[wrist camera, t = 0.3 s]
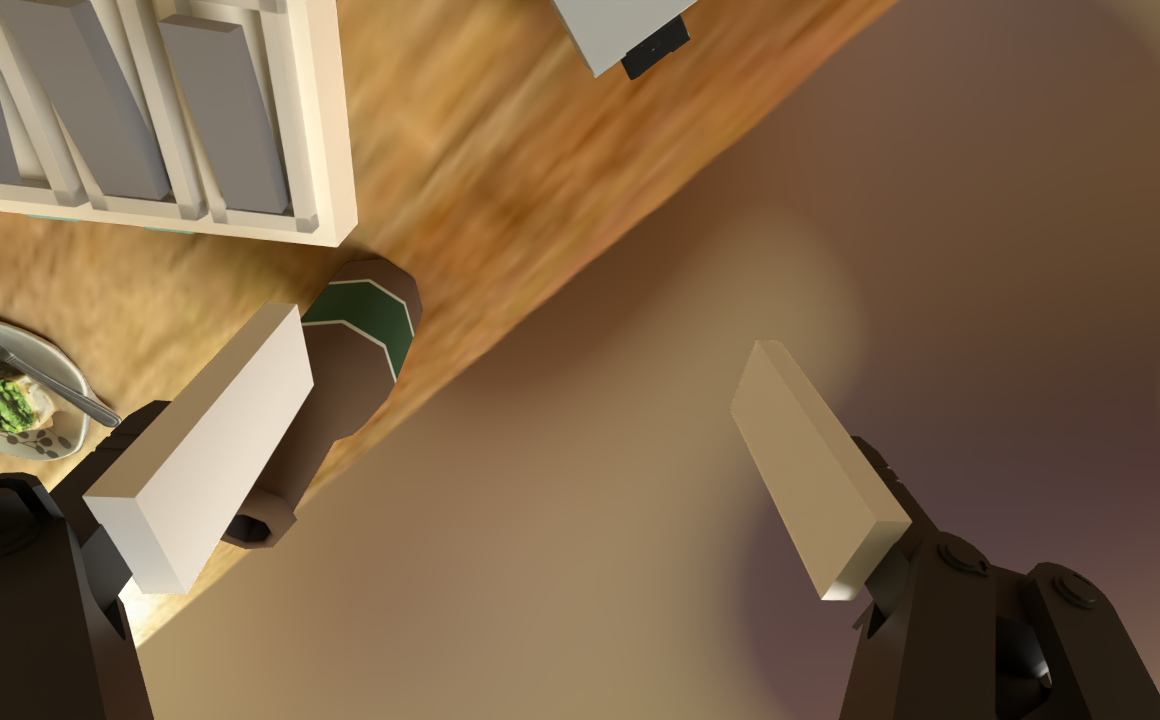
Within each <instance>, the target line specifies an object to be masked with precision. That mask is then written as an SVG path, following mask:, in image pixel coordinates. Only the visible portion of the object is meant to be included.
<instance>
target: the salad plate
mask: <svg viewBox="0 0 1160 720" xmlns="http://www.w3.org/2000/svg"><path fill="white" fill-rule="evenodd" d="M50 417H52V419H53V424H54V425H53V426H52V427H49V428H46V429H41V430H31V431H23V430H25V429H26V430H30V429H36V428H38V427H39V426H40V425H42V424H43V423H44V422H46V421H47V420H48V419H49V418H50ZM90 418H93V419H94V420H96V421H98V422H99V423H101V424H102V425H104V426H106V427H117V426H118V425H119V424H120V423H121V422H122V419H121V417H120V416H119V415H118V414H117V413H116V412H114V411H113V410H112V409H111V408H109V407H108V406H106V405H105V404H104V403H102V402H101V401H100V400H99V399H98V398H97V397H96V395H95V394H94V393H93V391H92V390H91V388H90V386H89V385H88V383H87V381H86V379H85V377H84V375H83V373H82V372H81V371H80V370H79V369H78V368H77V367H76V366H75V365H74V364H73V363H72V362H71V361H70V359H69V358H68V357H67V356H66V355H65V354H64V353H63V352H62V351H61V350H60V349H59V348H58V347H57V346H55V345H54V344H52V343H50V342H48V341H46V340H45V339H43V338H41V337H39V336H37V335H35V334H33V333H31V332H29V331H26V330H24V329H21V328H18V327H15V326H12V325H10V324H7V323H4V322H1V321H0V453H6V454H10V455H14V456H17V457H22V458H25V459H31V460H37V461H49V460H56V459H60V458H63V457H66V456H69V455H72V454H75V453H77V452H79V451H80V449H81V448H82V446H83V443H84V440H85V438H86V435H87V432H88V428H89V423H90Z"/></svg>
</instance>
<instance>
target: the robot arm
mask: <svg viewBox="0 0 1160 720" xmlns="http://www.w3.org/2000/svg"><path fill="white" fill-rule="evenodd" d="M313 386H314V383H313V378H312V373H311V369H310V364H309V359H308V354H307V349H306V345H305V340H304V335H303V330H302V325H301V320H300V316H299V311H298V306H297V304H292V303H280V302H266V303H265V304H264V305H263V306H262V307H261V308H260V309H259V310H258V311H257V312H256V313H255V314H254V315H253V317H252V318H251V319H250V320H249V321H248V322H247V323H246V324H245V325H244V326H243V327H242V328H241V329H240V330H239V331H238V332H237V333H236V334H235V336H234V337H233V338H232V339H231V340H230V341H229V342H228V343H227V344H226V345H225V346H224V347H223V348H222V349H221V350H220V351H219V352H218V353H217V355H216V356H215V357H214V358H213V359H212V360H211V361H210V362H209V363H208V364H207V365H206V366H205V367H204V368H203V369H202V370H201V371H200V372H199V373H198V375H197V376H196V377H195V378H194V379H193V380H192V381H191V382H190V383H189V384H188V385H187V386H186V387H185V388H184V389H183V390H182V391H181V392H180V394H179V395H178V396H177V397H176V398H175V399H174V400H173V401H160V400H154V401H153V402H151V403H149V404H147V405H146V406H144V407H142V408H140V409H139V410H137V411H135V412H133V413H132V414H130V415H128V416H127V417H126V418H125V419H124V420H123V421H122V422H121V423H120V424H119V425H118V426H117V427H116V428H115V429H114V430H113V431H112V432H111V435H110V437H106V438H105V439H104V440H103V441H102V442H101V443H100V444H99V445H98V446H97V447H96V450H95V452H90V453H89V454H88V455H87V456H86V457H85V458H84V459H83V460H82V461H81V462H80V463H79V464H78V465H77V466H76V467H75V468H74V469H73V470H72V471H71V472H70V473H69V474H68V475H67V476H66V477H65V478H64V479H63V480H62V481H61V482H60V483H59V484H58V485H57V486H56V487H55V488H54V489H53V490H52V491H51V492H50V493H48V492H47V490H46V489H45V487H44V486H43V484H42V483H41V482H40V480H39V479H38V478H37V476H34V475H31V474H27V473H24V472H15V473H1V474H0V720H154V717H153V714H152V709H151V706H150V702H149V698H148V694H147V691H146V687H145V683H144V679H143V676H142V672H141V668H140V664H139V660H138V657H137V653H136V649H135V645H134V641H133V638H132V634H131V630H130V626H129V622H128V619H127V615H126V611H125V607H124V604H123V603H122V601H121V600H120V598H119V597H118V594H119V593H120V591H121V590H122V589H123V587H124V586H125V585H126V583H127V582H128V580H129V579H130V578H131V576H132V577H133V579H134V580H135V582H136V584H137V585H138V587H139V588H140V590H141V592H142V593H143V594H187V593H188V591H189V590H190V588H191V586H192V585H193V583H194V581H195V580H196V578H197V576H198V575H199V573H200V572H201V570H202V568H203V567H204V565H205V563H206V562H207V560H208V558H209V557H210V555H211V553H212V552H213V550H214V548H215V547H216V545H217V544H218V542H219V540H220V539H221V537H222V535H223V534H224V532H225V530H226V529H227V527H228V525H229V524H230V522H231V521H232V519H233V517H234V516H235V514H236V512H237V511H238V509H239V507H240V506H241V504H242V502H243V501H244V499H245V497H246V496H247V494H248V493H249V491H250V489H251V488H252V486H253V484H254V483H255V481H256V479H257V478H258V476H259V474H260V473H261V471H262V470H263V468H264V466H265V465H266V463H267V461H268V460H269V458H270V456H271V455H272V453H273V451H274V450H275V448H276V446H277V445H278V443H279V442H280V440H281V438H282V437H283V435H284V433H285V432H286V430H287V428H288V427H289V425H290V423H291V422H292V420H293V419H294V417H295V415H296V414H297V412H298V410H299V409H300V407H301V405H302V404H303V402H304V400H305V399H306V397H307V396H308V394H309V392H310V391H311V389H312V387H313ZM730 411H731V413H732V415H733V417H734V419H735V421H736V423H737V426H738V428H739V429H740V432H741V434H742V436H743V438H744V440H745V442H746V444H747V446H748V448H749V450H750V453H751V455H752V457H753V459H754V461H755V463H756V465H757V467H758V469H759V471H760V473H761V475H762V478H763V480H764V482H765V483H766V486H767V488H768V490H769V492H770V494H771V496H772V498H773V500H774V503H775V504H776V507H777V509H778V511H779V513H780V515H781V517H782V519H783V521H784V523H785V525H786V527H787V529H788V532H789V534H790V536H791V538H792V540H793V542H794V544H795V546H796V548H797V550H798V552H799V554H800V556H801V559H802V561H803V562H804V565H805V567H806V569H807V571H808V573H809V575H810V577H811V580H812V581H813V584H814V586H815V588H816V590H817V592H818V594H819V596H820V598H821V600H853V599H854V598H855V596H856V595H857V594H858V592H859V591H860V590H861V589H862V587H863V586H864V585H866V587H867V589H868V590H869V592H870V594H871V596H872V597H873V600H872V602H871V603H870V604H869V605H868V607H867V608H866V609H865V610H864V611H863V613H862V614H861V615H860V616H859V618H858V619H857V620H856V622H855V623H854V625H853V626H852V628H854V629H856V630H857V629H858V628H859V627H860V626H861V625H862V624H863V625H862V629H861V633H860V637H859V641H858V645H857V649H856V653H855V657H854V661H853V665H852V669H851V673H850V677H849V681H848V685H847V689H846V693H845V697H844V701H843V705H842V709H841V713H840V717H839V720H1160V694H1159V692H1158V690H1157V688H1156V686H1155V684H1154V683H1153V681H1152V679H1151V677H1150V675H1149V673H1148V671H1147V669H1146V667H1145V666H1144V664H1143V662H1142V660H1141V658H1140V656H1139V654H1138V652H1137V650H1136V648H1135V647H1134V645H1133V643H1132V641H1131V639H1130V637H1129V635H1128V633H1127V631H1126V630H1125V628H1124V626H1123V624H1122V622H1121V620H1120V618H1119V616H1118V614H1117V612H1116V611H1115V609H1114V607H1113V605H1112V604H1111V603H1110V601H1109V600H1108V599H1107V597H1106V596H1105V595H1104V594H1103V593H1102V592H1101V591H1100V590H1099V589H1098V588H1097V587H1096V586H1095V585H1094V584H1093V583H1092V582H1090V581H1089V580H1088V579H1086V578H1084V577H1083V576H1082V575H1080V574H1078V573H1077V572H1075V571H1073V570H1070V569H1068V568H1066V567H1064V566H1062V565H1058V564H1054V563H1050V562H1044V563H1038V564H1037V565H1036V566H1035V567H1034V568H1033V569H1032V570H1031V571H1029V572H1028V573H1027V574H1026V575H1024V574H1021V573H1017V572H1014V571H1011V570H1008V569H1004V568H1001V567H997V566H994V565H991V564H990V563H989V561H988V560H987V558H986V557H985V556H984V555H983V554H982V553H981V552H980V551H979V550H978V549H976V548H975V547H974V546H973V545H971V544H970V543H968V542H966V541H965V540H963V539H962V538H960V537H957V536H955V535H953V534H950V533H948V532H941V531H939V530H938V529H937V527H936V526H935V525H934V523H933V522H932V521H931V520H930V518H929V517H928V516H927V514H926V513H925V512H924V511H923V509H922V508H921V507H920V505H919V504H918V503H917V502H916V500H915V499H914V498H913V496H912V495H911V494H910V492H909V491H908V490H907V489H906V487H905V486H904V485H903V484H902V483H900V479H899V478H898V477H897V476H896V474H895V473H894V472H893V470H890V467H889V465H888V464H887V463H886V461H885V460H884V459H883V457H882V456H881V455H880V454H879V452H878V451H877V450H875V449H874V448H873V447H872V446H871V445H869V444H868V443H867V442H866V441H864V440H863V439H862V438H861V437H858V436H849V435H848V433H847V432H846V431H845V429H844V428H843V426H842V425H841V424H840V422H839V421H838V420H837V418H836V417H835V416H834V414H833V413H832V411H831V410H830V409H829V407H828V406H827V405H826V403H825V402H824V401H823V399H822V398H821V396H820V395H819V394H818V392H817V391H816V390H815V388H814V387H813V386H812V384H811V383H810V381H809V380H808V379H807V377H806V376H805V375H804V373H803V372H802V371H801V369H800V368H799V366H798V365H797V364H796V362H795V361H794V360H793V358H792V357H791V356H790V354H789V353H788V351H787V350H786V349H785V348H784V346H783V345H782V343H781V342H780V341H769V340H756V342H755V345H754V347H753V350H752V353H751V355H750V358H749V360H748V363H747V366H746V368H745V371H744V373H743V376H742V379H741V381H740V384H739V386H738V389H737V392H736V395H735V397H734V400H733V402H732V405H731V408H730ZM1047 671H1049V672H1050V676H1051V681H1052V685H1051V683H1050V680H1049V678H1048V675H1047Z"/></svg>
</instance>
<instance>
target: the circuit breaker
mask: <svg viewBox="0 0 1160 720" xmlns="http://www.w3.org/2000/svg"><path fill="white" fill-rule="evenodd" d="M549 1H550V3H551V5H552V7H553V9H554V10H555V12H556V14H557V16H558V18H559V19H560V21H561V23H562V25H563V27H564V28H565V30H566V32H567V34H568V36H569V38H570V39H571V41H572V43H573V45H574V47H575V48H576V50H577V52H578V54H579V56H580V57H581V59H582V61H583V63H584V65H585V66H586V67H587V68H588V69H589V70H590V71H591V73H592V74H593V76H594V78H596V77H597V76H599V75H600V74H602V73H603V72H604V71H606V70H607V69H608V68H610V67H611V66H612V65H614V64H615V63H616V62H618V61H619V60H621V62H622V64H623V66H624V68H625V70H626V72H627V74H628V76H629V78H630V80H633V79H635V78H637V77H639V76H640V75H641V74H642V73H644V72H645V71H646V70H647V69H649V68H650V67H651V66H652V65H654V64H655V63H656V62H658V61H659V60H660V59H662V58H663V57H664V56H666V55H667V54H668V53H669V52H673V51H675V50H676V49H678V48H679V47H680V46H682V45H683V44H685V43H686V42H687V41H689V40H690V37H689V34H688V32H687V30H686V27H685V25H684V22H683V20H682V18H681V15H680V13H681V12H682V11H684V10H685V9H686V8H688V7H689V6H691V5H692V4H693V3H695V2H696V1H697V0H549Z"/></svg>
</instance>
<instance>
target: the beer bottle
mask: <svg viewBox="0 0 1160 720" xmlns="http://www.w3.org/2000/svg"><path fill="white" fill-rule="evenodd" d="M422 311H423V310H422V306H421V302H420V298H419V294H418V290H417V286H416V282H415V279H414V278H412V277H411V276H409V275H408V274H406V273H405V272H403V271H402V270H400V269H399V268H397V267H396V266H394V265H393V264H392V263H390V262H389V261H387V260H386V259H372V260H358V261H348V262H347V263H346V264H345V265H344V266H343V267H342V268H341V269H340V270H339V271H338V272H337V273H336V275H335V276H334V277H333V279H332V280H331V281H330V282H329V284H328V285H327V286H326V287H325V289H324V290H323V291H322V293H321V294H320V295H319V296H318V298H317V299H316V300H315V301H314V303H313V304H312V305H311V307H310V308H309V309H308V310H307V312H306V313H305V314H304V315H303V317H302V318H301V319H300V320H301V325H302V330H303V335H304V340H305V345H306V349H307V354H308V359H309V364H310V369H311V373H312V378H313V383H314V386H313V387H312V389H311V391H310V392H309V394H308V396H307V397H306V399H305V400H304V402H303V404H302V405H301V407H300V409H299V410H298V412H297V414H296V415H295V417H294V419H293V420H292V422H291V423H290V425H289V427H288V428H287V430H286V432H285V433H284V435H283V437H282V438H281V440H280V442H279V443H278V445H277V446H276V448H275V450H274V451H273V453H272V455H271V456H270V458H269V460H268V461H267V463H266V465H265V466H264V468H263V470H262V471H261V473H260V474H259V476H258V478H257V479H256V481H255V483H254V484H253V486H252V488H251V489H250V491H249V493H248V494H247V496H246V497H245V499H244V501H243V502H242V504H241V506H240V507H239V509H238V511H237V512H236V514H235V516H234V517H233V519H232V521H231V522H230V524H229V525H228V527H227V529H226V530H225V532H224V534H223V535H222V537H221V539H220V540H222V541H225V542H227V543H230V544H233V545H236V546H238V547H241V548H244V549H256V548H266V547H273V546H274V545H275V544H276V543H277V542H278V541H279V539H280V538H281V537H282V536H283V535H284V534H285V533H286V532H287V531H288V530H289V528H290V527H291V526H292V525H293V524H294V523H295V522H296V521H297V519H296V517H295V515H294V514H293V512H294V510H295V508H296V506H297V505H298V503H299V501H300V500H301V498H302V496H303V494H304V493H305V491H306V489H307V488H308V486H309V484H310V482H311V481H312V479H313V477H314V476H315V474H316V472H317V471H318V469H319V467H320V465H321V464H322V462H323V460H324V459H325V457H326V455H327V453H328V452H329V450H330V448H331V447H332V445H333V443H334V442H335V441H336V440H339V439H342V438H345V437H348V436H351V435H353V434H354V433H355V432H357V431H358V430H359V429H360V428H361V427H363V426H364V425H365V424H366V423H367V422H368V420H369V419H370V418H371V417H372V416H373V415H374V413H375V412H376V411H377V410H378V409H379V408H380V407H381V405H382V404H383V403H384V402H385V401H386V400H387V398H388V396H389V394H390V392H391V390H392V389H393V387H394V385H395V383H396V380H397V378H398V375H399V373H400V370H401V368H402V365H403V362H404V360H405V357H406V355H407V352H408V350H409V347H410V345H411V342H412V339H413V337H414V334H415V332H416V329H417V327H418V324H419V322H420V318H421V315H422Z"/></svg>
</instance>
